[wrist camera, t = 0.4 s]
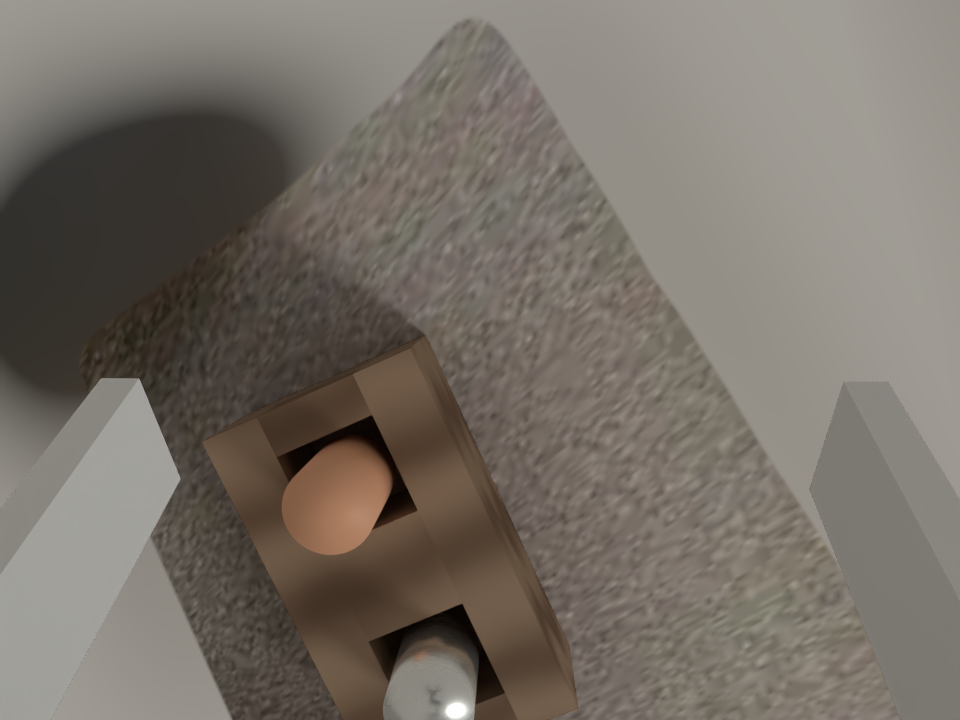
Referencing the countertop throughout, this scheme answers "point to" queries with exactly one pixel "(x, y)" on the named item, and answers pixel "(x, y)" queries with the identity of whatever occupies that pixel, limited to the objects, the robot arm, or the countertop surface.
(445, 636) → the grey rounded piece
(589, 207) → the countertop surface
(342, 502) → the tan rounded piece
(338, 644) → the brown wooden block
